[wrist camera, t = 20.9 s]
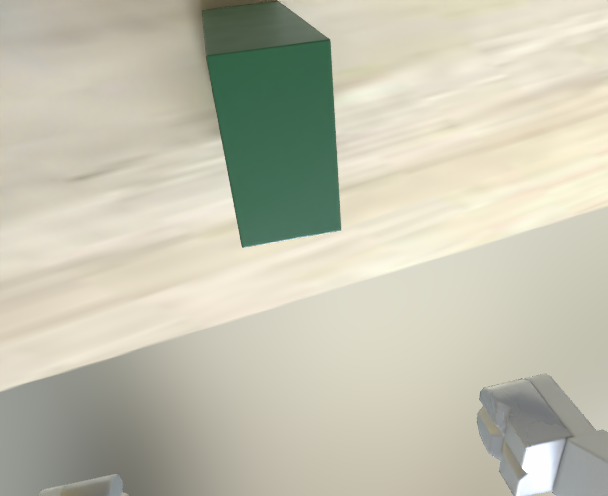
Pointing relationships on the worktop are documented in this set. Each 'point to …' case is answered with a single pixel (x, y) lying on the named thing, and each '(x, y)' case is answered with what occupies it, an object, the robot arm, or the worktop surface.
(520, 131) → the worktop surface
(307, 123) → the block
